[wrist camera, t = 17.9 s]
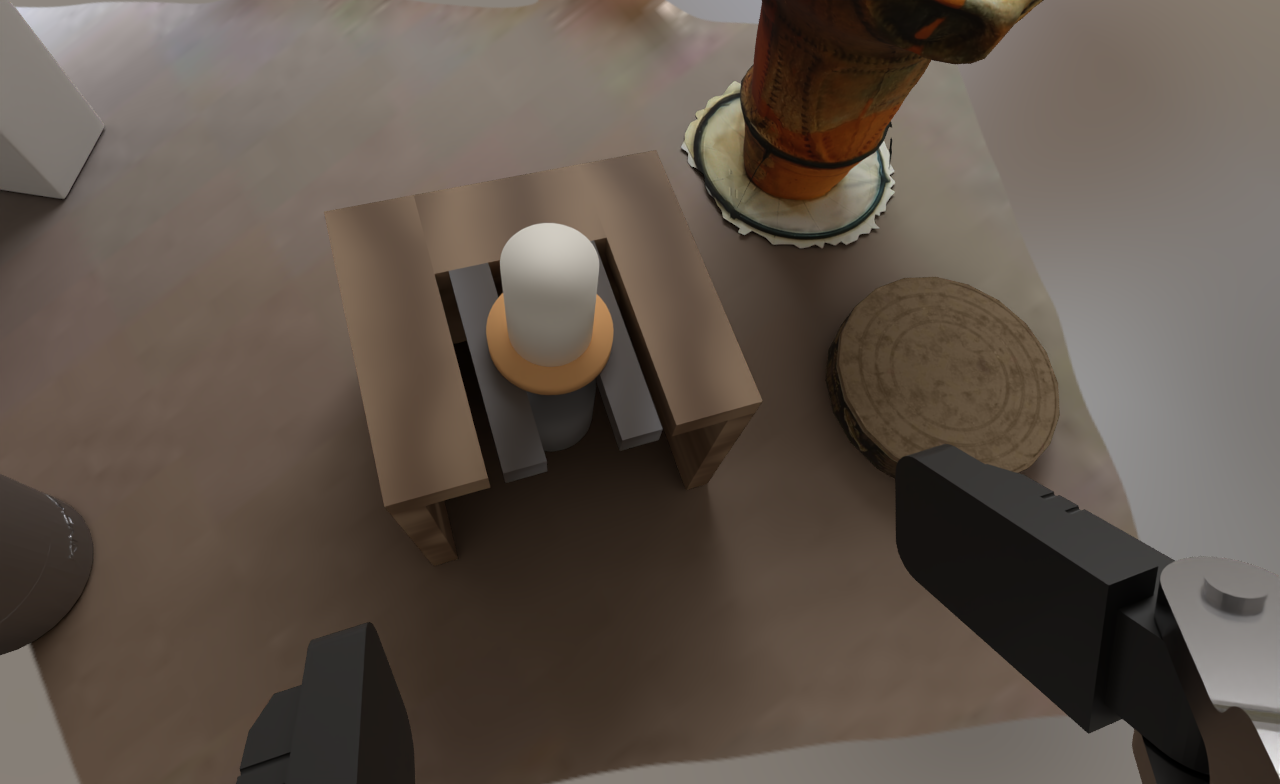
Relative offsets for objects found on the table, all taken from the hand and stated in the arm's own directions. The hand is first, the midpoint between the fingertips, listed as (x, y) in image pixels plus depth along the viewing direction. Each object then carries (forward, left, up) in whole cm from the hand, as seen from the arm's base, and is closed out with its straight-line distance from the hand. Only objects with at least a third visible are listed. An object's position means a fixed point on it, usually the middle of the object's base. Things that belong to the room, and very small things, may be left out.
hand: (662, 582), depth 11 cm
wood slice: (+32, +3, -35) cm, 47 cm away
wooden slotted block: (+7, +16, -35) cm, 39 cm away
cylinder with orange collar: (+6, +14, -30) cm, 34 cm away
